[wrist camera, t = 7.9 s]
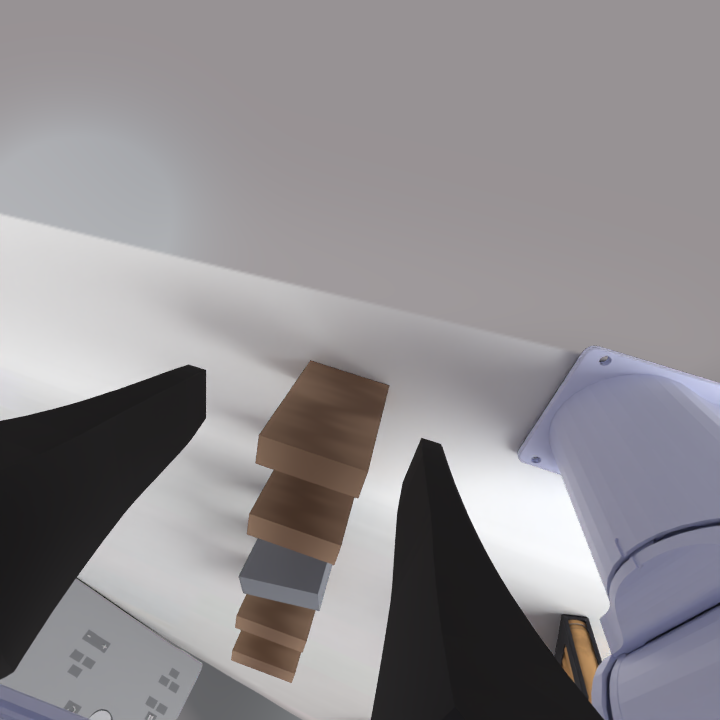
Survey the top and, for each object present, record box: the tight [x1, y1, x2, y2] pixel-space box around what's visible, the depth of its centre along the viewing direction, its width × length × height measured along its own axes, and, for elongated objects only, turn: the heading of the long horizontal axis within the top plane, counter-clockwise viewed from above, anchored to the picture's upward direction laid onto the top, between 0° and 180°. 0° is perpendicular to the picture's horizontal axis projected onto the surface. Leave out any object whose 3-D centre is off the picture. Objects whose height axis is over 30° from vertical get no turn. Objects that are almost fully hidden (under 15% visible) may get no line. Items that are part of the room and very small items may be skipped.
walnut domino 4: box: [231, 630, 301, 683], centre depth 30 cm, size 5×2×7 cm, turn 76°
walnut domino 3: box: [235, 594, 315, 652], centre depth 27 cm, size 5×2×7 cm, turn 76°
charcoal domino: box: [239, 538, 332, 611], centre depth 25 cm, size 5×2×7 cm, turn 89°
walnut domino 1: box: [256, 360, 389, 498], centre depth 19 cm, size 5×2×7 cm, turn 76°
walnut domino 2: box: [247, 470, 354, 565], centre depth 22 cm, size 5×2×7 cm, turn 76°
